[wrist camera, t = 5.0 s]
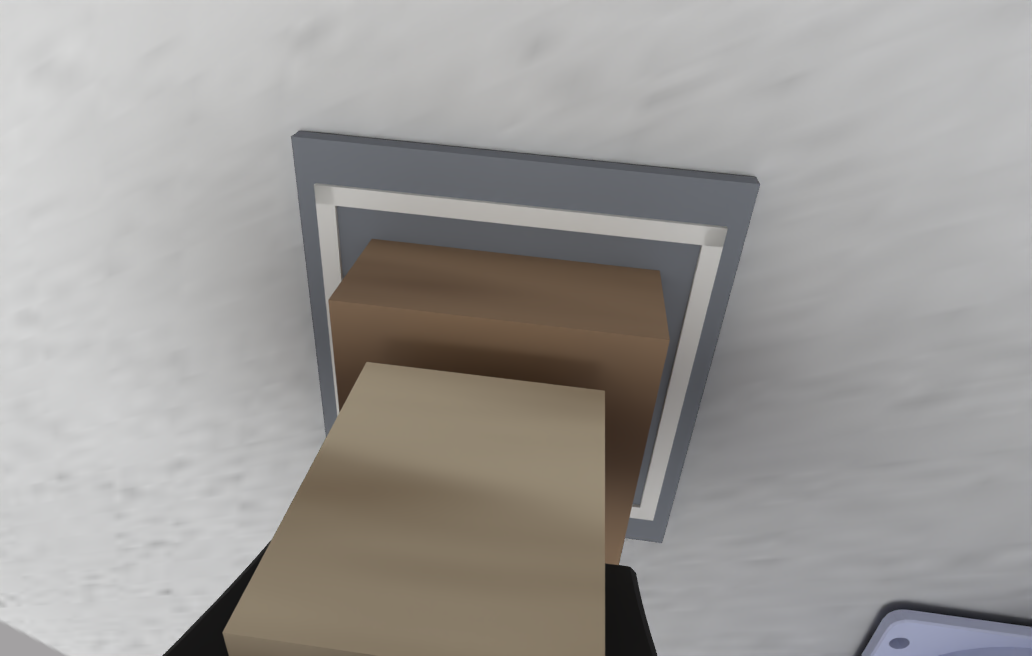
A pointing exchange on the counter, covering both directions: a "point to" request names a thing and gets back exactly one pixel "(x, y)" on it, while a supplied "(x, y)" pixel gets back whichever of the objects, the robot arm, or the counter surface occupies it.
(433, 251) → the walnut base
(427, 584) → the maple block
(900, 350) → the counter surface
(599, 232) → the grey flat square plate
